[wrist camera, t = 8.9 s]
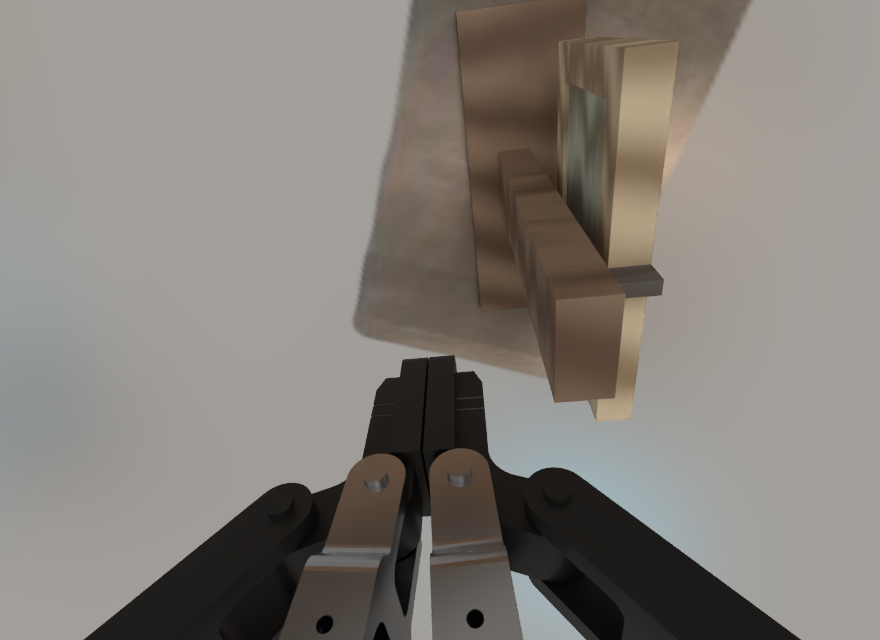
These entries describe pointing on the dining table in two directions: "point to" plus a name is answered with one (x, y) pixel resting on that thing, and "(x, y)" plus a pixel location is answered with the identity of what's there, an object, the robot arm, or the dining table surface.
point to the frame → (617, 171)
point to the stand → (534, 195)
